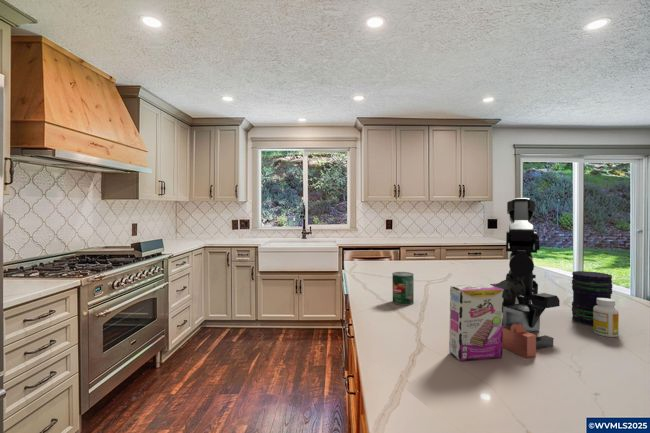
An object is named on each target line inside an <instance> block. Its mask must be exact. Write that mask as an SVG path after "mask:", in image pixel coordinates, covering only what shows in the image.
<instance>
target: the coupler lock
mask: <svg viewBox="0 0 650 433" xmlns="http://www.w3.org/2000/svg"><path fill="white" fill-rule="evenodd" d="M529 311H530V310H529V308H528V307H527V306H526V305H522V304H514V305H507V306H503V327H505V326H512V325H513V324H515V323H519V324H521V325H523V326H524V328H525V330H526V332H529V333H532V332H536V331H537V332H538V331H540V329H541V328H540V326H541V316H540V317H539V319H538V321H537V322H536V324H535V326H534V327H533V328H531V327H530V323H529Z"/></svg>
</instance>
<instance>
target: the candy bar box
mask: <svg viewBox="0 0 650 433" xmlns="http://www.w3.org/2000/svg"><path fill="white" fill-rule="evenodd" d="M449 289H450V290H449V291H450V294H449V339H448V340H449V348H448V353H449V354H450V355H452V356H453V357H454V358H456V360H458V361H459V362H460V361H461V362H462V361H463V362H464V361H472V360H473V361H475V360H486V359H502V358H503V348H502V339H503V327H504V326H503V295H504V289H501V288H499V287H495V286H492V285H490V284H480V285H479V284H476V285H475V284H473V285H450V288H449Z"/></svg>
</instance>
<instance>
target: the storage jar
mask: <svg viewBox="0 0 650 433" xmlns="http://www.w3.org/2000/svg"><path fill="white" fill-rule="evenodd" d="M571 274H572V278H571V290H572V302H571V312H572V313H571V314H572V316H571V317H572V318H571V319H572V320H573V321H574V322H575V323H579V324H581V325H586V326H591V327H593V308H594V306H596V305H598V304H597V298H608V299H612V295H613V280H612V279H613V275H612V274H609V273H605V272H604V273H603V272H596V271H585V270H578V271H577V270H576V271H572V273H571Z"/></svg>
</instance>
